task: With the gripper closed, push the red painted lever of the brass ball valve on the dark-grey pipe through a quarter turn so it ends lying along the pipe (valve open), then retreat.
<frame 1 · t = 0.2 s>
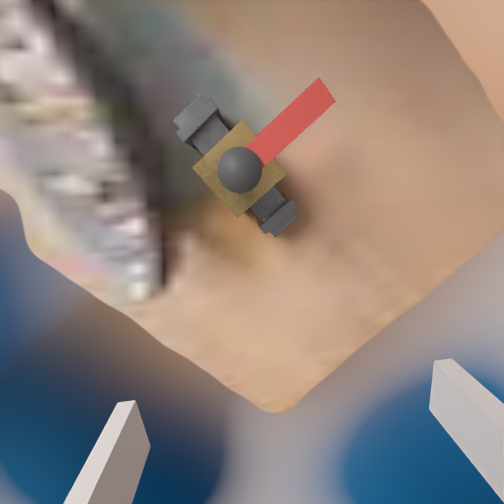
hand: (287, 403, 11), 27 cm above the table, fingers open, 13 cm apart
lever: (272, 140, 24), point 11 cm above the table, hinge at 0.0°
valve: (240, 171, 35), on the table
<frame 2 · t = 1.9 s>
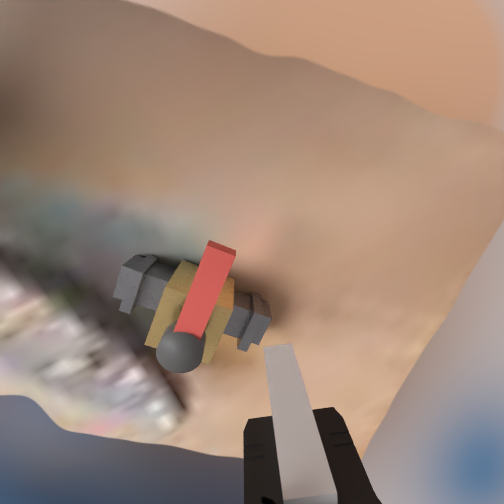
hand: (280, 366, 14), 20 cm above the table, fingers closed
lever: (197, 309, 22), point 11 cm above the table, hinge at 0.0°
valve: (199, 292, 34), on the table
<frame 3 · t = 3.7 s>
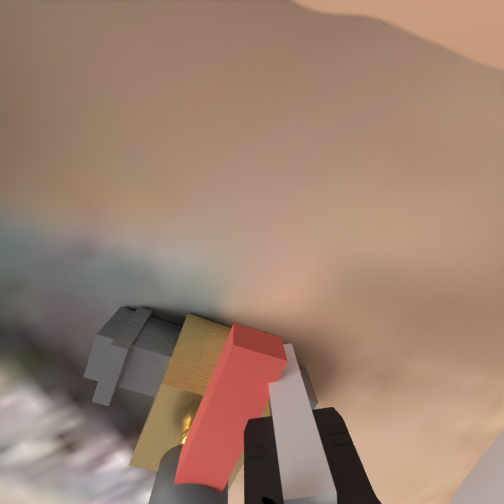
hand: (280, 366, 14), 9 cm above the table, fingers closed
lever: (214, 438, 13), point 11 cm above the table, hinge at 2.0°, touching gripper
valve: (211, 356, 24), on the table
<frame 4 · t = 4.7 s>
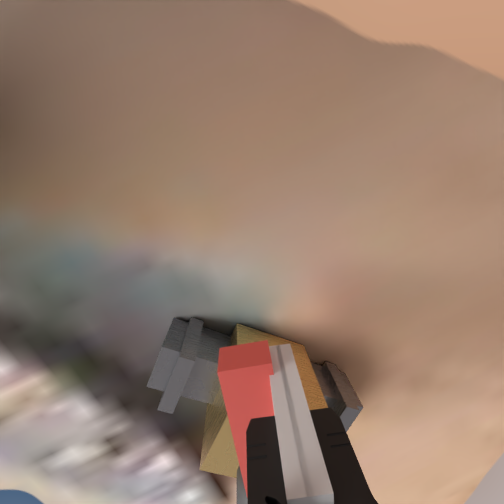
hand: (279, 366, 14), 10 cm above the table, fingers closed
lever: (261, 446, 14), point 11 cm above the table, hinge at 31.8°, touching gripper
valve: (256, 363, 25), on the table
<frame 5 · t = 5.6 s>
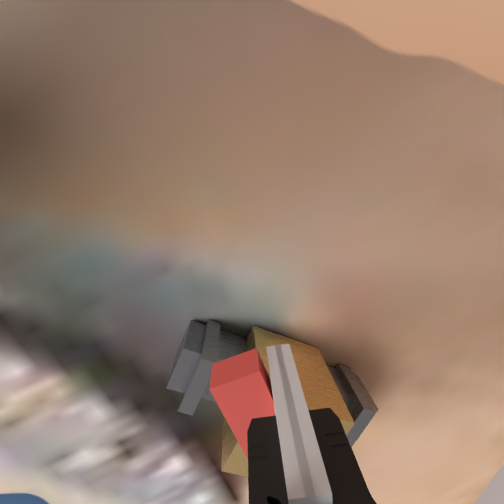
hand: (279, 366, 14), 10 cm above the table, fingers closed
lever: (275, 450, 14), point 11 cm above the table, hinge at 44.2°, touching gripper
valve: (271, 365, 26), on the table
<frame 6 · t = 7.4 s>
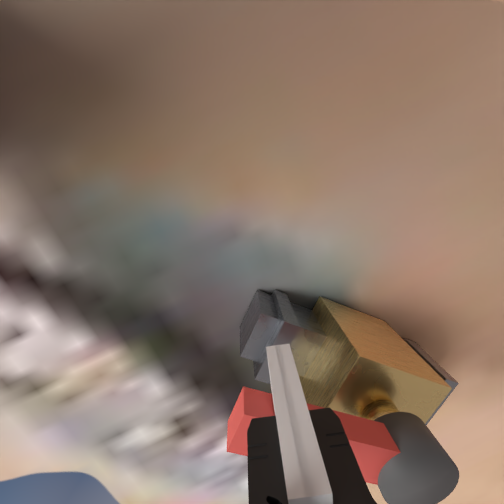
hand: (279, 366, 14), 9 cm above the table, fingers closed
lever: (342, 443, 14), point 11 cm above the table, hinge at 92.4°, touching gripper
valve: (335, 339, 25), on the table
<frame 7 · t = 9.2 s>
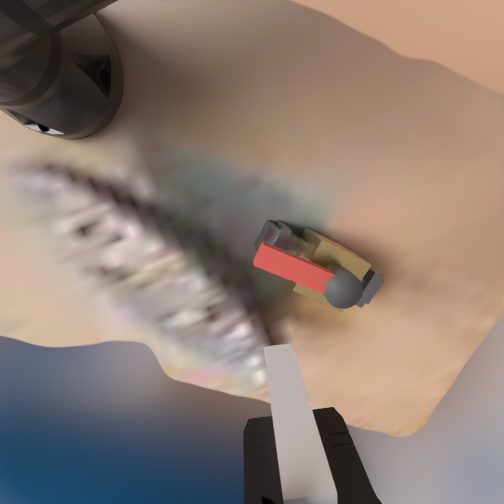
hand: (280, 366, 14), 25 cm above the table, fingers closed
lever: (308, 273, 28), point 11 cm above the table, hinge at 92.6°
valve: (314, 257, 39), on the table
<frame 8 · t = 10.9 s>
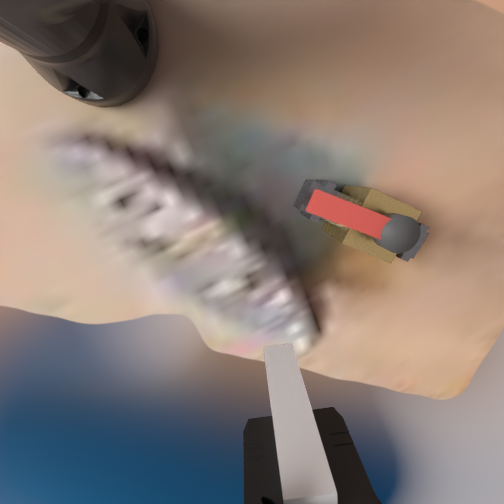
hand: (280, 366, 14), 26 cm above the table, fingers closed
lever: (362, 220, 28), point 11 cm above the table, hinge at 92.6°
valve: (353, 216, 38), on the table
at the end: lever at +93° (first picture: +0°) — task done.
